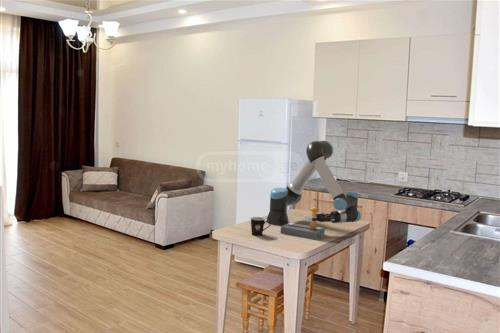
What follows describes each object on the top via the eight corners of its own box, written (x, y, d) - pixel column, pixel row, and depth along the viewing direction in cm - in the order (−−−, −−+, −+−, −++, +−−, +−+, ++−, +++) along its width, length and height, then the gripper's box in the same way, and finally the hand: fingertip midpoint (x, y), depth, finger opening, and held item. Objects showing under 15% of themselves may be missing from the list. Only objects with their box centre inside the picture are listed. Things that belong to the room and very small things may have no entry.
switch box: (280, 233, 278) (280, 226, 277) (289, 228, 290) (289, 222, 289) (316, 239, 267) (317, 232, 266) (324, 234, 279) (324, 227, 278)
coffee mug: (247, 235, 269) (248, 219, 268) (252, 231, 277) (253, 216, 276) (265, 237, 265) (266, 221, 264) (270, 234, 273) (271, 218, 272)
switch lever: (307, 234, 274) (309, 208, 272) (310, 232, 278) (311, 206, 276) (314, 235, 272) (316, 209, 270) (316, 233, 276) (318, 207, 274)
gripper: (344, 225, 273) (311, 227, 265) (330, 219, 289) (298, 221, 280) (345, 214, 273) (312, 215, 264) (331, 208, 288) (299, 209, 279)
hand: (305, 218), depth 272 cm, fingers closed on switch lever, 4 cm apart
